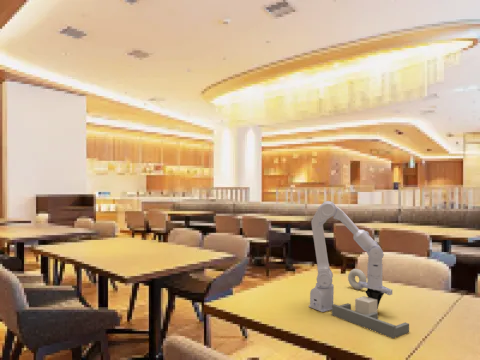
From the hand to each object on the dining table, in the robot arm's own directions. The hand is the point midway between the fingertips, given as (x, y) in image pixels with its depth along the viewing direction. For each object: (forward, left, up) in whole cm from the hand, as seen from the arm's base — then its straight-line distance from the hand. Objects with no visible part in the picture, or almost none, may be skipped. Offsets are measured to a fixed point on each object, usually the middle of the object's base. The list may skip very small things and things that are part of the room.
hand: (374, 308), depth 152 cm
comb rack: (-13, -6, -1) cm, 14 cm away
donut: (+21, +25, -2) cm, 33 cm away
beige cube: (-5, 0, -2) cm, 6 cm away
